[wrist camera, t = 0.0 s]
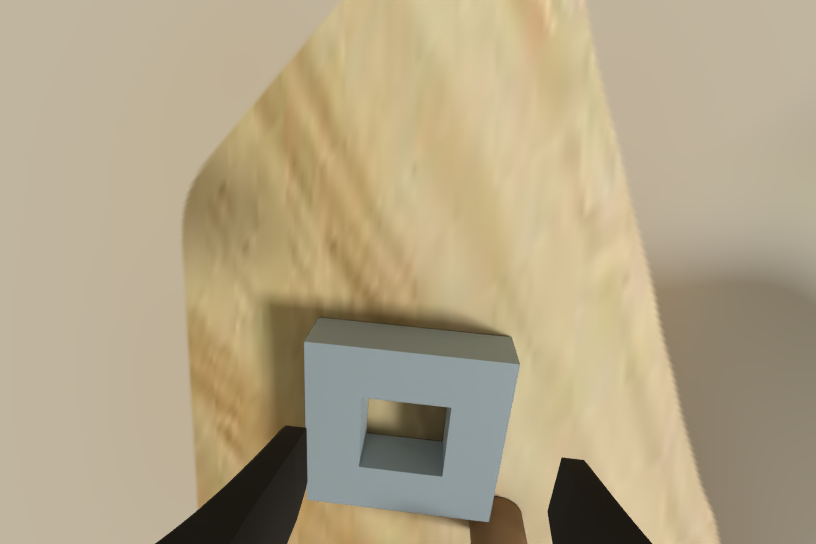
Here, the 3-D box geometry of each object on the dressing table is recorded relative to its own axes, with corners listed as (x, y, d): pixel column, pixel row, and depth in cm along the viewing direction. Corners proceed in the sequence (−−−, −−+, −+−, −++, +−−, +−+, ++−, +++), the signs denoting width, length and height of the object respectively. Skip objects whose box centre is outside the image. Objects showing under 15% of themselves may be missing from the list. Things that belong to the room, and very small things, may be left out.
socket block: (484, 484, 25) (488, 522, 23) (319, 464, 26) (306, 499, 23) (511, 337, 21) (519, 364, 19) (318, 317, 22) (303, 341, 20)
